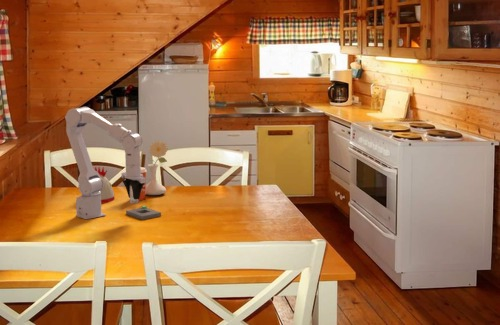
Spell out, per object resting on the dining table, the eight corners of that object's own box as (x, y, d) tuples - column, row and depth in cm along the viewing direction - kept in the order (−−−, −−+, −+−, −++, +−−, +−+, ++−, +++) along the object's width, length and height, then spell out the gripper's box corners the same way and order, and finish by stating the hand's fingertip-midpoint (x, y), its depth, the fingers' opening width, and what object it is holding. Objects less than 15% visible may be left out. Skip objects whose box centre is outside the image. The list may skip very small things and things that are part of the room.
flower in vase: (137, 196, 316) (135, 141, 312) (147, 190, 327) (146, 138, 322) (163, 198, 313) (162, 143, 308) (173, 192, 323) (172, 139, 319)
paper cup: (138, 202, 305) (137, 170, 302) (126, 199, 310) (125, 168, 307) (151, 198, 311) (150, 168, 309) (139, 196, 316) (138, 166, 313)
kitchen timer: (110, 203, 302) (109, 170, 300) (79, 203, 302) (77, 169, 300) (117, 196, 316) (116, 164, 313) (87, 196, 316) (85, 163, 313)
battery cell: (132, 203, 272) (132, 184, 270) (128, 202, 274) (127, 183, 273) (139, 202, 274) (139, 183, 272) (135, 200, 276) (134, 182, 275)
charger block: (142, 219, 275) (142, 214, 275) (126, 214, 284) (125, 208, 284) (161, 216, 281) (160, 210, 281) (144, 210, 290) (144, 205, 290)
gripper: (152, 165, 269) (152, 199, 271) (131, 160, 279) (132, 193, 282) (136, 167, 264) (137, 202, 266) (116, 162, 275) (117, 196, 277)
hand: (134, 198), depth 274 cm, fingers closed on battery cell, 3 cm apart
